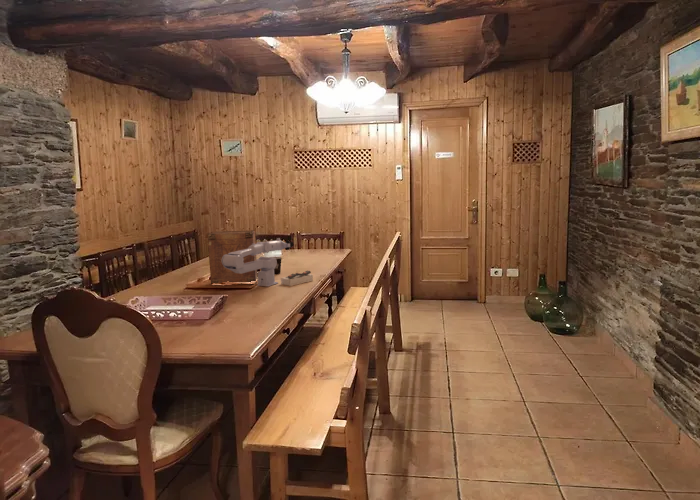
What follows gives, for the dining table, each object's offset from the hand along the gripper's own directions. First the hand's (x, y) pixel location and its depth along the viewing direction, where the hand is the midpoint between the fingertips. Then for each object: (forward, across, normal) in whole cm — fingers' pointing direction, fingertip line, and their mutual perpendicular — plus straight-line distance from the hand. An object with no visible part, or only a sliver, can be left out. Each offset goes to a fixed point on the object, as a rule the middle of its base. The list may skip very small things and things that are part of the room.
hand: (287, 243), depth 307 cm
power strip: (-8, -12, +21) cm, 26 cm away
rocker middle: (-8, -14, +17) cm, 23 cm away
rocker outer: (-3, -15, +17) cm, 23 cm away
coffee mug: (+7, +18, +20) cm, 27 cm away
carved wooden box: (-25, +20, +22) cm, 39 cm away
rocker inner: (-13, -13, +17) cm, 25 cm away
